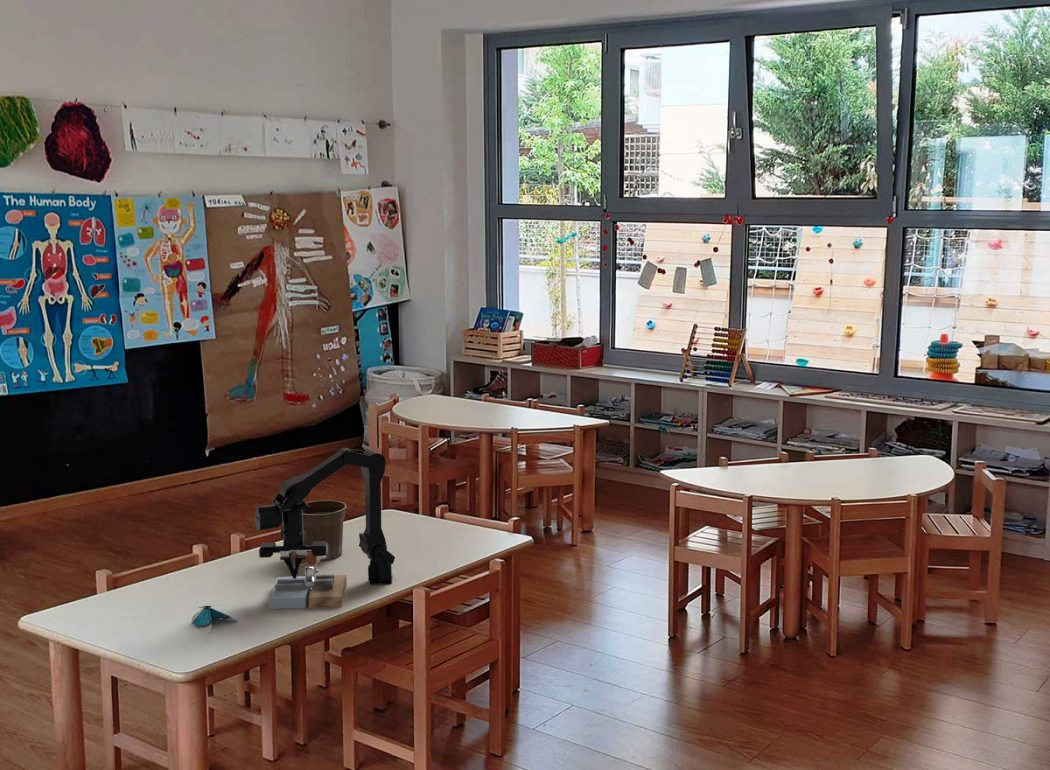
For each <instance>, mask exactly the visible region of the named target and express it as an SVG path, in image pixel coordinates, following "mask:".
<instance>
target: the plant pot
mask: <svg viewBox="0 0 1050 770" xmlns="http://www.w3.org/2000/svg"><path fill="white" fill-rule="evenodd" d="M305 503H306V504H307V505H308V506H310V509H304V510H303V531H305V544H304V545H313V543H314V541H326V542H327V543H328V552H327V555H326V558H325V559H321V560H320V562H323V561H324V562H326V560H327V561H330V560H331V559H332V560H334V559H337V558H339V557H340V556H342V555H343V538H344V537H343V536H344V535H343V534H344V533H343V531H344V520H345V517H346V516H345V515H346V514H345V513H346V509H347V504H346V503H345V502H342V501H339V500H332V499H321V500H320V499H319V500H313V501H311V500H310V501H308V502H305Z"/></svg>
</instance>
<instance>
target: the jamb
mask: <svg viewBox="0 0 1050 770" xmlns="http://www.w3.org/2000/svg"><path fill="white" fill-rule="evenodd" d="M327 578H333V579H332V580H315V581H314V584H315V587H312V589H311V592H310V595H309V598H308V608H309V609H315V608H319V609H321V608H342V607H343V602H344V598H345V595H346V594H345V593H346V590H347V586H348V582H347V580H348V578H347V574H316V575H314V579H327ZM344 594H345V595H344Z"/></svg>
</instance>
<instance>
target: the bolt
mask: <svg viewBox="0 0 1050 770" xmlns="http://www.w3.org/2000/svg"><path fill="white" fill-rule="evenodd" d="M304 570H305V571H304V572H305V573H304V576H305V577H306V579H305V581H304V587H315V584H314V581H315V580H332V579H333V578H327V579H315V568H314V566H309V565H306V566H305V567H304Z"/></svg>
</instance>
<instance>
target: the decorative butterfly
mask: <svg viewBox="0 0 1050 770" xmlns="http://www.w3.org/2000/svg"><path fill="white" fill-rule="evenodd" d="M222 604H223V603H221V604H220V605H222ZM216 606H218V605H215V607H216ZM198 609H201V610H199V611H198V612H196V613H195V614H193V616H192V617H191V621H190V622H191V623H192V624H194V625H195V626H194V625H193V626H194V627H196V626H197V628H199V629H200V630H202V631H203V630H204V631H203V632H205V631H206V632H205V633H206V634H210V633H211V631H212V624H213V623H212V622H213V621H212V619H217V618H218V620H220V619H221V620H223V619H224V620H225V621H229V620H230V621H229V622H235V621H237V623H238V622H239V621H238V620H237V619H236V618H233V617H232V616H230V615H229V614H227V613H224V612H221V611H219V610H216V609H214V608H213V607H212V605H201V606H198ZM192 624H191V625H192Z"/></svg>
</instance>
